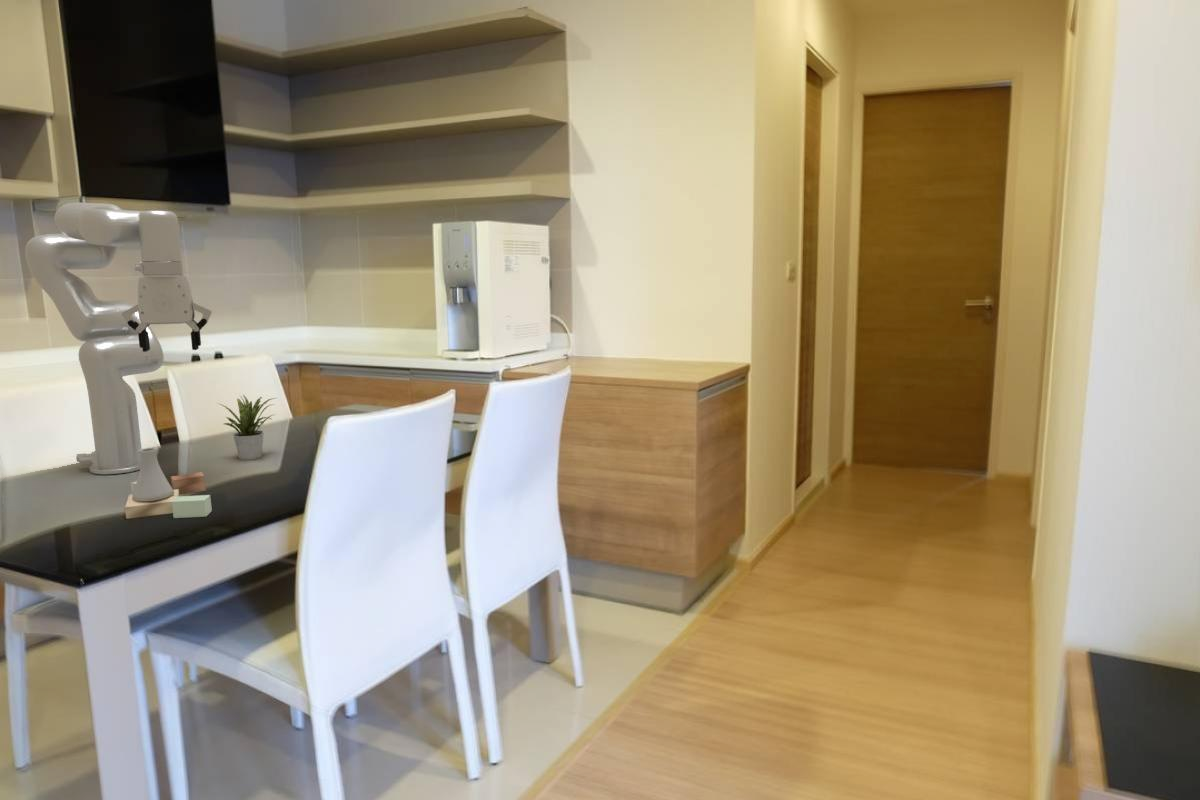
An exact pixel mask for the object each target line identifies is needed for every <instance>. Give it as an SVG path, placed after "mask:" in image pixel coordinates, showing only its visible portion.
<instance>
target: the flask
mask: <svg viewBox="0 0 1200 800" xmlns="http://www.w3.org/2000/svg"><path fill="white" fill-rule="evenodd" d="M138 452H139V453H140V455H141V466H140V470H139V472H138V476H137V480H136V481H137V483H136V486H135V489H134V492H133V496H132V499H134V500H136V501H155V500H160V499H164V498H167V497H169V496H171V495H173V494H175V493H174V491H173V489H172V485H171V484H170V483H169V480H168V479H167V478H166V476H165V474H164V472H163V470H162V468H161V465H160V464H159V460H158V457H157V452H158V448H157V447H145V448H142V449H141V450H138Z"/></svg>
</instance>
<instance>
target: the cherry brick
mask: <svg viewBox="0 0 1200 800" xmlns="http://www.w3.org/2000/svg"><path fill="white" fill-rule="evenodd" d="M170 479H171V480H170V481H171V487H172V489H173V490H175V489H179V495H184V494H185V495H186V494H191V493H197V492H203V491H207V489H206V480H205V479H206V478H205V475H204V473H203V472H202V471H200V472H199V471H198V472H192V473H185V474H178V475H172V476H170Z"/></svg>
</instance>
